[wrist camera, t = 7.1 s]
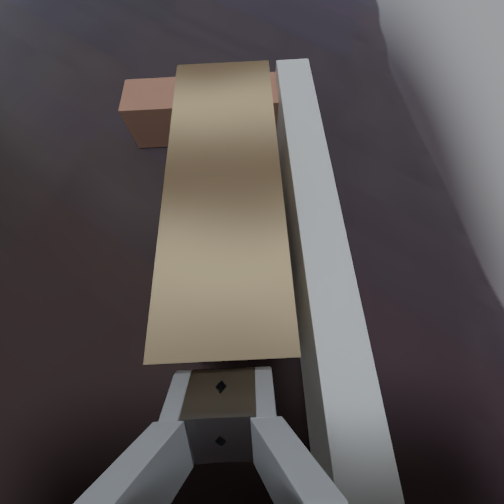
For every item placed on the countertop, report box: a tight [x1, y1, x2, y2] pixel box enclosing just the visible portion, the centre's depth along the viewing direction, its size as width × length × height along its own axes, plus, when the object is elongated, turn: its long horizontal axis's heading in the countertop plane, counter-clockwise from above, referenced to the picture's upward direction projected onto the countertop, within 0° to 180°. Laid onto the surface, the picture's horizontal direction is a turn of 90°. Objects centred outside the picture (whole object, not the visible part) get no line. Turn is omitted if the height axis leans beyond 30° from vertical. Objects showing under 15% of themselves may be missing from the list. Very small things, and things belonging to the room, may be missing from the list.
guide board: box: [118, 59, 405, 504], centre depth 12 cm, size 28×12×4 cm, turn 3°
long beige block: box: [143, 60, 301, 365], centre depth 12 cm, size 12×4×7 cm, turn 3°
